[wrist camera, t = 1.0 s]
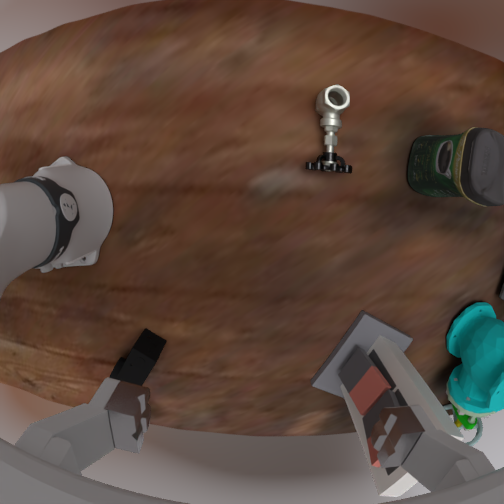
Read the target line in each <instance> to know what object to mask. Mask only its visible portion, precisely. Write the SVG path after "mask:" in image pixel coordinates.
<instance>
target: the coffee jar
mask: <svg viewBox="0 0 504 504" xmlns="http://www.w3.org/2000/svg"><path fill="white" fill-rule="evenodd" d="M408 181H409V184H410V186H411V187H412V188H413V189H414V190H415V191H417V192H419V193H421V194H423V195H426V196H431V197H464V198H466V199H467V200H469V201H471V202H473V203H475V204H478V205H482V206H500V205H503V204H504V136H503V135H502V134H500V133H498V132H496V131H494V130H492V129H487V128H478V127H474V128H470V129H468V130H467V131H465V132H464V133H462V134H458V135H447V136H439V135H427V136H421V137H419V138H417V139H416V140H415V142H414V144H413V147H412V150H411V154H410V159H409V165H408Z"/></svg>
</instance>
